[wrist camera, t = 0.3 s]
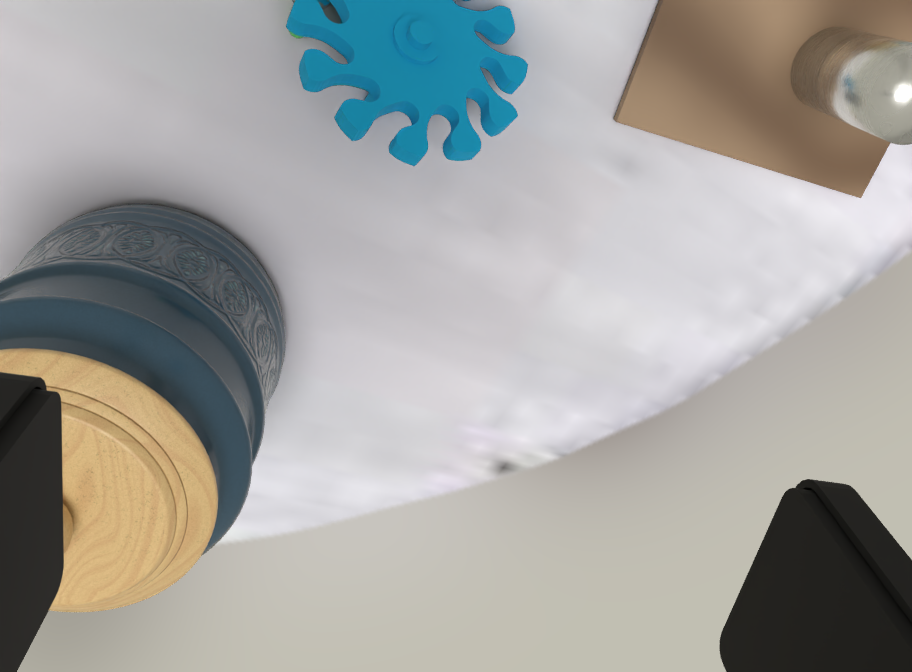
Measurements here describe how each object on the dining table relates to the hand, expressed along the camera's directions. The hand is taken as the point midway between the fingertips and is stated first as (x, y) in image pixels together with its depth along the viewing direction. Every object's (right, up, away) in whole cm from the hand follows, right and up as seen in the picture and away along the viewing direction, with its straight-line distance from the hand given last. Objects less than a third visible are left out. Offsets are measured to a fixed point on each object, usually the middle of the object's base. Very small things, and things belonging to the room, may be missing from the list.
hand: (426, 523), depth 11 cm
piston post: (+17, +15, +27) cm, 36 cm away
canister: (-15, +3, +31) cm, 35 cm away
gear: (-2, +16, +26) cm, 30 cm away
